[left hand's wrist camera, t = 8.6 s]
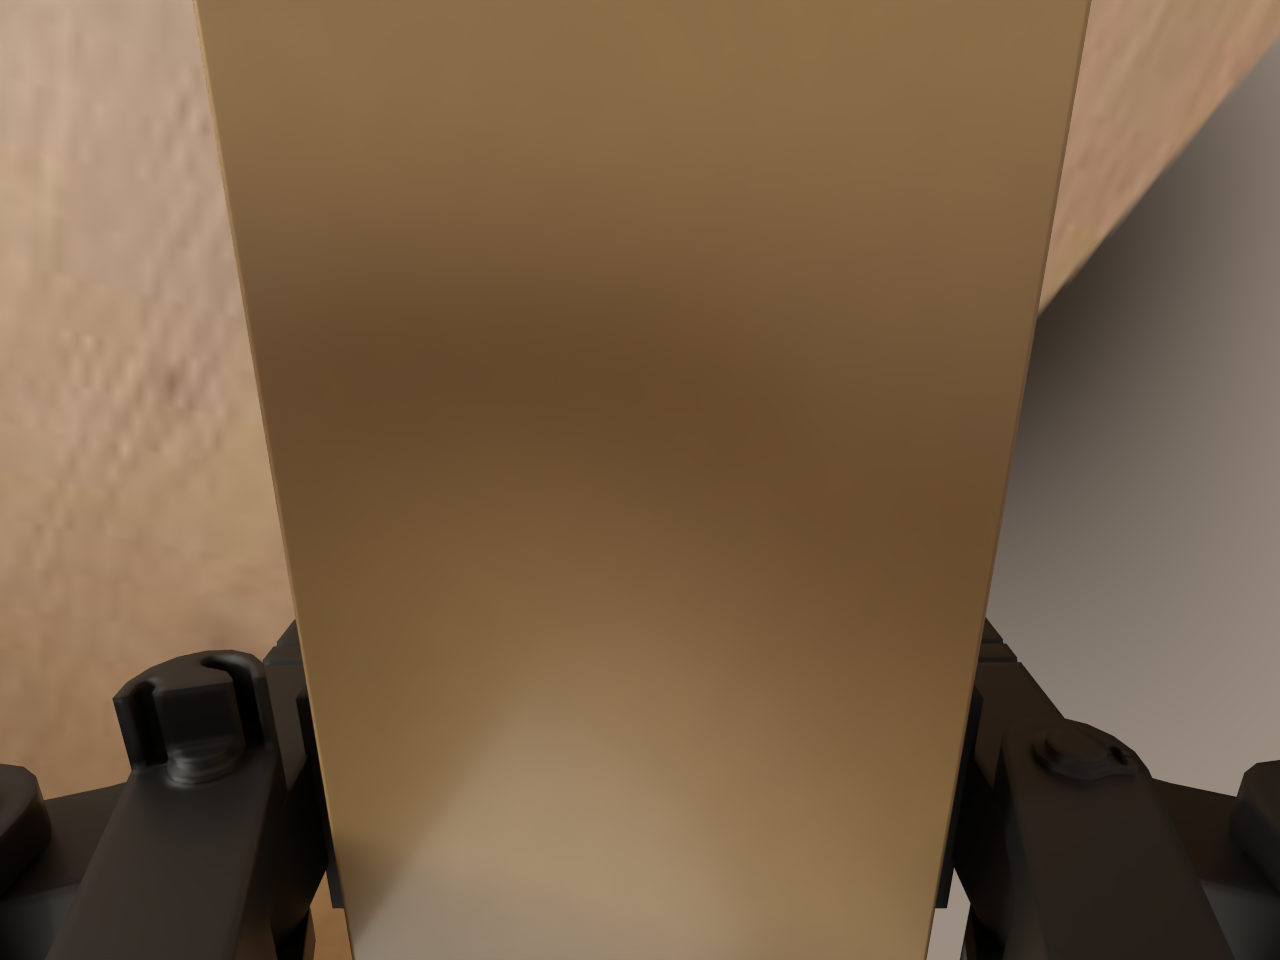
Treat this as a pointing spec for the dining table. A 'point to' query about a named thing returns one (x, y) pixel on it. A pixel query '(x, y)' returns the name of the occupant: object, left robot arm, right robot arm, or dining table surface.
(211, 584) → the dining table surface
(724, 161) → the bar
